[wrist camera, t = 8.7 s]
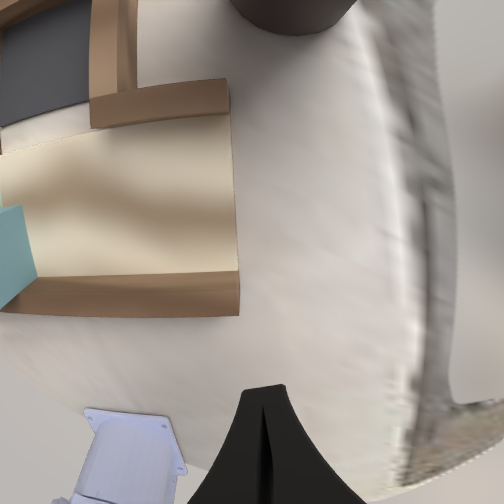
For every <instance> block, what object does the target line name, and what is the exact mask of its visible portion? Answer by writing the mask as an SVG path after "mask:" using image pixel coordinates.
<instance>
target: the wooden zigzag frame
mask: <svg viewBox="0 0 504 504" xmlns="http://www.w3.org/2000/svg"><path fill="white" fill-rule="evenodd" d="M68 1H70V0H0V61H1V49H2V39H3V32H4V30H5V29H7V28H9V27H11V26H13V25H15V24H17V23H19V22H21V21H23V20H25V19H27V18H29V17H31V16H33V15H36V14H38V13H40V12H43V11H45V10H47V9H50V8H52V7H55V6H57V5H60V4H62V3H65V2H68ZM137 6H138V0H92V9H91V23H90V43H89V103H90V125H91V129H94V128H110V129H104V130H99V131H94V132H89V133H84V134H79V135H75V136H70V137H66V138H61V139H57V140H53V141H49V142H45V143H41V144H37V145H33V146H30V147H26V148H23V149H19V150H16V151H12V152H9V153H6V154H1V141H0V208H4V207H9V206H15V205H21V204H22V208H23V213H24V219H25V224H26V229H27V234H28V238H29V243H30V247H31V252H32V256H33V260H34V264H35V268H36V271H37V275H38V277H37V278H36V279H35V280H34V281H32V282H31V283H30V284H29V285H28V286H26V287H25V288H24V289H23V290H22V291H21V292H19V293H18V294H17V295H16V296H15V297H14V298H13V299H11V300H10V301H9V302H8V303H7V304H6V305H5V306H4V307H2V308H1V309H0V312H7V313H21V314H37V315H56V316H81V317H127V318H172V317H219V316H239V306H240V282H239V266H238V250H237V234H236V217H235V199H234V181H233V162H232V143H231V122H230V101H229V87H228V84H227V81H226V78H222V79H209V80H198V81H189V82H180V83H172V84H165V85H158V86H151V87H145V88H139V89H137Z"/></svg>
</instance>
